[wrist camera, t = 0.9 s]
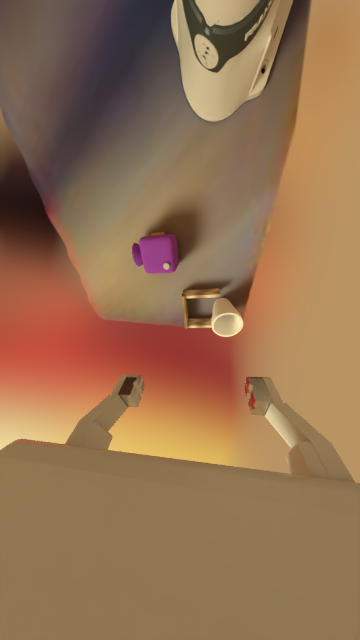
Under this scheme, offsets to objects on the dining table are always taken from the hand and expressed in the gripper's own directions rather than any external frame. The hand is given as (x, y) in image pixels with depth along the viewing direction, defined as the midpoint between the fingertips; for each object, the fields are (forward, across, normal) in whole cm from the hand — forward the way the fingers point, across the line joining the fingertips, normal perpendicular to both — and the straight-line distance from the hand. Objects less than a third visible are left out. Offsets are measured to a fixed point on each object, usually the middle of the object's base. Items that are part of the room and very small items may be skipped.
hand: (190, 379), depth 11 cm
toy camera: (+42, +12, -5) cm, 44 cm away
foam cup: (+42, -8, +17) cm, 46 cm away
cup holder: (+42, 0, +16) cm, 45 cm away
